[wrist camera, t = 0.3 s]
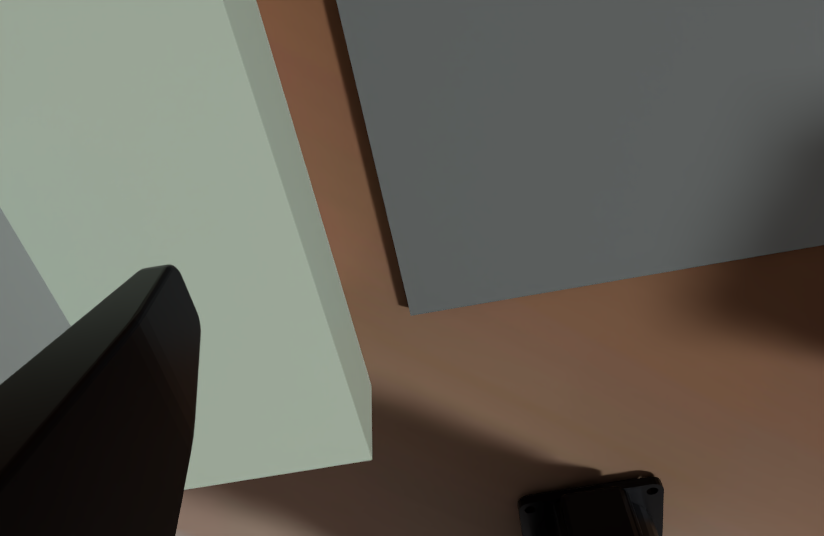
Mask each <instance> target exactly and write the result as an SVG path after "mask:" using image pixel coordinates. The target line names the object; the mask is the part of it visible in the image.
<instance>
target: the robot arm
mask: <svg viewBox="0 0 824 536" xmlns="http://www.w3.org/2000/svg"><path fill="white" fill-rule="evenodd" d="M200 340H201V325H200V320H199V316H198V313H197V311H196V308H195V306H194V303H193V301H192V299H191V296H190V294H189V292H188V289H187V287H186V285H185V282H184V280H183V277H182V275H181V273H180V272H179V270H178V269H177V268H176V267H175V266H173V265H171V264H167V265H160V266H154V267H148V268H143V269H140V270H139V271H138V272H136V273H135V274H134V275H133V276H132V277H130V278H129V279H128V280H127V281H126V282H124V283H123V284H122V285H121V286H119V287H118V288H117V289H116V290H115V291H113V292H112V293H111V294H110V295H108V296H107V297H106V298H105V299H104V300H102V301H101V302H100V303H99V304H98V305H96V306H95V307H94V308H93V309H91V310H90V311H89V312H88V313H87V314H85V315H84V316H83V317H82V318H81V319H79V320H78V321H77V322H76V323H74V324H73V325H72V326H71V327H70V328H68V329H67V330H66V331H65V332H63V333H62V334H61V335H60V336H59V337H57V338H56V339H55V340H54V341H53V342H51V343H50V344H49V345H48V346H46V347H45V348H44V349H43V350H42V351H40V352H39V353H38V354H37V355H36V356H34V357H33V358H32V359H31V360H29V361H28V362H27V363H26V364H25V365H23V366H22V367H21V368H20V369H18V370H17V371H16V372H15V373H14V374H12V375H11V376H10V377H9V378H8V379H6V380H5V381H4V382H3V383H1V384H0V536H175V534H176V529H177V524H178V518H179V513H180V508H181V503H182V497H183V492H184V487H185V482H186V477H187V471H188V466H189V461H190V456H191V450H192V444H193V438H194V429H195V418H196V402H197V387H198V371H199V356H200ZM663 497H664V489H663V486H662V483H661V481H660V479H659V478H657V477H646V478H639V479H633V480H626V481H620V482H613V483H607V484H600V485H594V486H587V487H581V488H574V489H568V490H561V491H555V492H548V493H542V494H535V495H529V496H525V497H522V498H521V499H520V500H519V501H518V509H519V515H520V522H521V528H522V535H523V536H662V530H663Z"/></svg>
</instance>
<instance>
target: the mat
mask: <svg viewBox="0 0 824 536" xmlns="http://www.w3.org/2000/svg"><path fill="white" fill-rule="evenodd" d="M336 2H337V6H338V10H339V14H340V19H341V23H342V27H343V31H344V36H345V40H346V44H347V48H348V52H349V57H350V61H351V65H352V69H353V73H354V78H355V82H356V86H357V90H358V95H359V99H360V103H361V107H362V111H363V116H364V120H365V124H366V128H367V133H368V137H369V141H370V145H371V149H372V154H373V158H374V162H375V166H376V171H377V175H378V179H379V183H380V187H381V192H382V196H383V200H384V204H385V209H386V213H387V217H388V221H389V225H390V230H391V234H392V238H393V242H394V246H395V251H396V255H397V259H398V263H399V268H400V272H401V276H402V280H403V284H404V289H405V293H406V297H407V301H408V306H409V310H410V314H411V315H417V314H423V313H429V312H435V311H441V310H447V309H452V308H458V307H464V306H470V305H476V304H482V303H487V302H493V301H499V300H505V299H511V298H517V297H523V296H528V295H534V294H540V293H546V292H552V291H558V290H563V289H569V288H575V287H581V286H587V285H593V284H599V283H604V282H610V281H616V280H622V279H628V278H634V277H639V276H645V275H651V274H657V273H663V272H669V271H675V270H680V269H686V268H692V267H698V266H704V265H710V264H715V263H721V262H727V261H733V260H739V259H745V258H751V257H756V256H762V255H768V254H774V253H780V252H786V251H791V250H797V249H803V248H809V247H815V246H821V245H824V0H336Z"/></svg>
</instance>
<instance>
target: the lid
mask: <svg viewBox="0 0 824 536" xmlns="http://www.w3.org/2000/svg"><path fill="white" fill-rule="evenodd" d="M167 264H171V265H173V266H175V267H176V268H177V269H178V270H179V272H180V273H181V275H182V277H183V280H184V282H185V285H186V287H187V289H188V292H189V294H190V296H191V299H192V301H193V303H194V306H195V308H196V311H197V313H198V316H199V320H200V325H201V340H200V356H199V371H198V387H197V402H196V418H195V429H194V438H193V444H192V450H191V456H190V461H189V466H188V471H187V477H186V482H185V487H184V490H186V489H193V488H199V487H205V486H212V485H218V484H224V483H230V482H237V481H243V480H249V479H256V478H262V477H268V476H274V475H281V474H287V473H293V472H300V471H306V470H312V469H318V468H325V467H331V466H337V465H344V464H350V463H356V462H362V461H369V460H372V392H371V383H370V379H369V376H368V373H367V369H366V366H365V363H364V359H363V356H362V353H361V349H360V346H359V343H358V339H357V336H356V333H355V329H354V326H353V322H352V319H351V316H350V312H349V309H348V306H347V302H346V299H345V296H344V292H343V289H342V286H341V282H340V279H339V276H338V272H337V269H336V266H335V262H334V259H333V256H332V252H331V249H330V246H329V242H328V239H327V236H326V232H325V229H324V226H323V222H322V219H321V216H320V212H319V209H318V206H317V202H316V199H315V196H314V192H313V189H312V186H311V182H310V179H309V176H308V172H307V169H306V166H305V162H304V159H303V156H302V152H301V149H300V146H299V142H298V139H297V136H296V132H295V129H294V125H293V122H292V119H291V115H290V112H289V109H288V105H287V102H286V99H285V95H284V92H283V89H282V85H281V82H280V79H279V75H278V72H277V69H276V65H275V62H274V59H273V55H272V52H271V49H270V45H269V42H268V39H267V35H266V32H265V29H264V25H263V22H262V19H261V15H260V12H259V9H258V5H257V2H256V0H0V384H1V383H3V382H4V381H5V380H6V379H8V378H9V377H10V376H11V375H12V374H14V373H15V372H16V371H17V370H18V369H20V368H21V367H22V366H23V365H25V364H26V363H27V362H28V361H29V360H31V359H32V358H33V357H34V356H36V355H37V354H38V353H39V352H40V351H42V350H43V349H44V348H45V347H46V346H48V345H49V344H50V343H51V342H53V341H54V340H55V339H56V338H57V337H59V336H60V335H61V334H62V333H63V332H65V331H66V330H67V329H68V328H70V327H71V326H72V325H73V324H74V323H76V322H77V321H78V320H79V319H81V318H82V317H83V316H84V315H85V314H87V313H88V312H89V311H90V310H91V309H93V308H94V307H95V306H96V305H98V304H99V303H100V302H101V301H102V300H104V299H105V298H106V297H107V296H108V295H110V294H111V293H112V292H113V291H115V290H116V289H117V288H118V287H119V286H121V285H122V284H123V283H124V282H126V281H127V280H128V279H129V278H130V277H132V276H133V275H134V274H135V273H136V272H138V271H139V270H140V269H143V268H148V267H154V266H160V265H167Z"/></svg>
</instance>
